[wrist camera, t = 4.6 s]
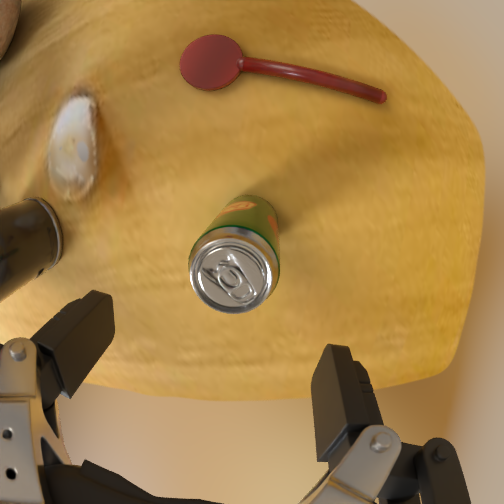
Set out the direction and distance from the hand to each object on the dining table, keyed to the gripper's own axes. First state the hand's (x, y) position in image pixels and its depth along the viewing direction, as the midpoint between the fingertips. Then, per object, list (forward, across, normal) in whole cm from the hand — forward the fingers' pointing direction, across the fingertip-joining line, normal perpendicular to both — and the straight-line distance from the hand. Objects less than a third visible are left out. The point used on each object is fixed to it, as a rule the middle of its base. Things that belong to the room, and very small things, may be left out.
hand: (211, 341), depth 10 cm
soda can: (+17, 0, 0) cm, 17 cm away
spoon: (+17, 0, -14) cm, 22 cm away
